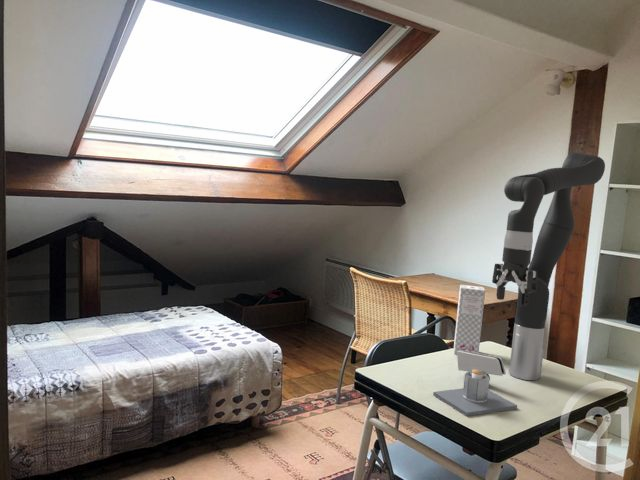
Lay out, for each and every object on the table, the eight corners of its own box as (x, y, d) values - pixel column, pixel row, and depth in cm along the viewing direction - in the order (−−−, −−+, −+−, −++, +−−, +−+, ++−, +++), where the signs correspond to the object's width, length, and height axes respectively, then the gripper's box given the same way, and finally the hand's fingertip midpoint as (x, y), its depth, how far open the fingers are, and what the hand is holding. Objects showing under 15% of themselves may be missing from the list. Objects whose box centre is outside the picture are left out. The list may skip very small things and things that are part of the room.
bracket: (458, 382, 159) (501, 388, 147) (455, 351, 159) (498, 355, 148) (465, 380, 161) (508, 386, 150) (463, 349, 162) (505, 353, 150)
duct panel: (481, 389, 150) (484, 360, 149) (516, 408, 137) (520, 377, 137) (433, 395, 142) (436, 364, 142) (466, 416, 130) (469, 383, 129)
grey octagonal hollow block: (460, 396, 139) (462, 374, 138) (470, 388, 146) (472, 367, 145) (482, 402, 135) (484, 380, 135) (491, 394, 142) (493, 373, 141)
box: (454, 354, 184) (461, 288, 181) (453, 347, 192) (460, 284, 190) (478, 357, 182) (485, 290, 180) (476, 351, 190) (483, 287, 188)
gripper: (489, 243, 146) (483, 297, 148) (527, 250, 133) (521, 308, 135) (508, 244, 150) (502, 297, 151) (547, 250, 137) (540, 308, 138)
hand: (511, 302), depth 143 cm, fingers open, 8 cm apart
